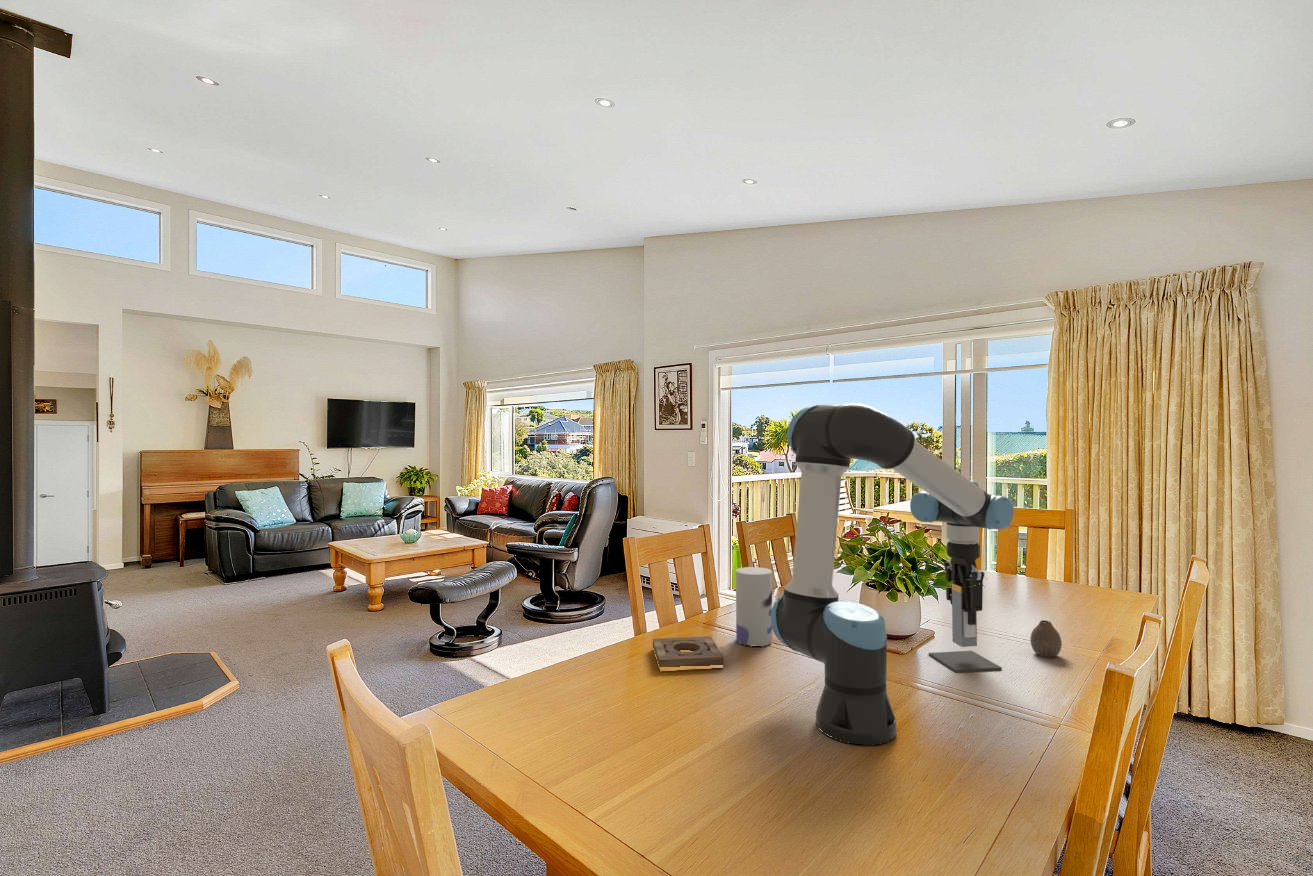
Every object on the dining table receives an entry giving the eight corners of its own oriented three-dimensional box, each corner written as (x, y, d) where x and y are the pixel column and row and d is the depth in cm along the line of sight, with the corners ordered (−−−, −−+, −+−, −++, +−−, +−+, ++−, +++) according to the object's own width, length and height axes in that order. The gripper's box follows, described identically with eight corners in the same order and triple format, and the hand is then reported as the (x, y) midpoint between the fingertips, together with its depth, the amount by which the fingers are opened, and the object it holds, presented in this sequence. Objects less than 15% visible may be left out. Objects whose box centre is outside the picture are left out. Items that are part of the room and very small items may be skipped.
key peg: (961, 646, 156) (961, 586, 156) (952, 641, 160) (951, 583, 160) (977, 646, 156) (976, 586, 156) (967, 640, 160) (966, 582, 160)
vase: (1053, 650, 166) (1052, 617, 166) (1067, 660, 159) (1067, 625, 159) (1025, 650, 167) (1025, 617, 167) (1038, 659, 160) (1038, 625, 160)
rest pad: (1001, 669, 153) (1001, 667, 153) (955, 672, 152) (955, 669, 152) (971, 653, 165) (971, 650, 165) (928, 655, 163) (928, 652, 163)
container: (775, 647, 171) (774, 574, 170) (738, 647, 171) (737, 574, 171) (769, 635, 181) (768, 566, 180) (734, 635, 181) (734, 566, 181)
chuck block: (723, 668, 155) (723, 656, 155) (659, 672, 154) (659, 659, 154) (710, 647, 171) (710, 636, 171) (652, 649, 169) (652, 638, 169)
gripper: (999, 546, 150) (1000, 644, 150) (957, 535, 167) (958, 623, 167) (969, 548, 149) (970, 645, 149) (930, 536, 166) (931, 624, 166)
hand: (964, 633), depth 158 cm, fingers closed on key peg, 4 cm apart
